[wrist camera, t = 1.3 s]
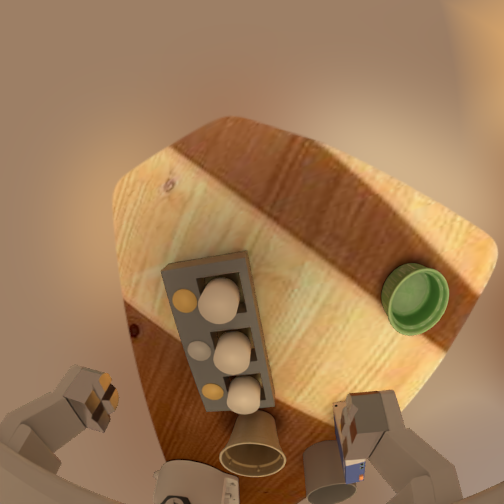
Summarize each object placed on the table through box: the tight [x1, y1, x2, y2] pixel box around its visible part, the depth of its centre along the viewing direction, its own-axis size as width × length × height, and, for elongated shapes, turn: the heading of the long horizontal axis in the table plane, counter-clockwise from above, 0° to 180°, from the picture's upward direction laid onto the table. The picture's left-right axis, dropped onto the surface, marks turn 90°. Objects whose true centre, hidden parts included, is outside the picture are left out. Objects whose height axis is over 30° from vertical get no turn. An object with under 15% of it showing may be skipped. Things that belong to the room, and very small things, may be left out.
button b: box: [213, 331, 251, 375], centre depth 35 cm, size 4×4×3 cm
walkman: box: [333, 401, 365, 484], centre depth 36 cm, size 8×3×12 cm, turn 13°
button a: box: [227, 375, 261, 414], centre depth 36 cm, size 4×4×3 cm
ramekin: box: [381, 263, 449, 336], centre depth 34 cm, size 9×9×4 cm
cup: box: [303, 440, 357, 504], centre depth 40 cm, size 8×8×10 cm
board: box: [161, 251, 275, 412], centre depth 37 cm, size 22×10×3 cm, turn 10°
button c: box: [198, 277, 240, 324], centre depth 33 cm, size 4×4×3 cm
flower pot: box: [219, 410, 286, 477], centre depth 39 cm, size 9×9×9 cm
